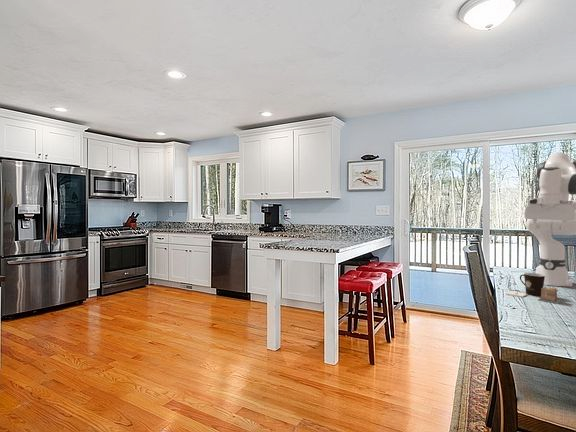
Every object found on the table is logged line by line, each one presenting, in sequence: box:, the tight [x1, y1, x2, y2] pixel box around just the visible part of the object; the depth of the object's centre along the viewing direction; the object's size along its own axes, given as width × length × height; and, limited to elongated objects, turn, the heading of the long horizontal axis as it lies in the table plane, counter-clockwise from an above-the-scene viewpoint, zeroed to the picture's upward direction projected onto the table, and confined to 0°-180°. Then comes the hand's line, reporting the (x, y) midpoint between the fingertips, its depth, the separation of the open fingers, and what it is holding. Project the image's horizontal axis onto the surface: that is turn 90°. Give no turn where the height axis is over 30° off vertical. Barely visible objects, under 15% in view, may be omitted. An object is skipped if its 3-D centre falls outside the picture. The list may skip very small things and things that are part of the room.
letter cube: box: [540, 286, 558, 301], centre depth 165 cm, size 5×5×5 cm
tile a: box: [537, 297, 561, 304], centre depth 165 cm, size 7×7×1 cm
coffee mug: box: [519, 272, 545, 297], centre depth 178 cm, size 12×9×10 cm
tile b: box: [505, 291, 528, 298], centre depth 176 cm, size 7×7×1 cm
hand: (548, 229), depth 173 cm, fingers open, 8 cm apart
